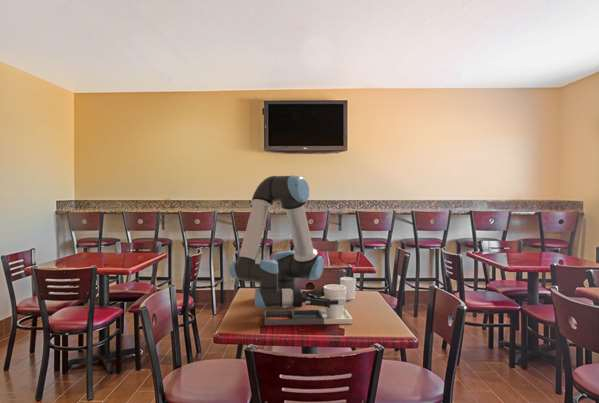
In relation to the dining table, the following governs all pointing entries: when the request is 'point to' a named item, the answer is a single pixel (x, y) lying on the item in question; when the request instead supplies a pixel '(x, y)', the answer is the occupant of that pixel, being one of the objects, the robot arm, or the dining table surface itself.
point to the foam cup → (334, 292)
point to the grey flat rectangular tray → (306, 317)
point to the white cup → (349, 287)
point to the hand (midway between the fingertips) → (342, 297)
